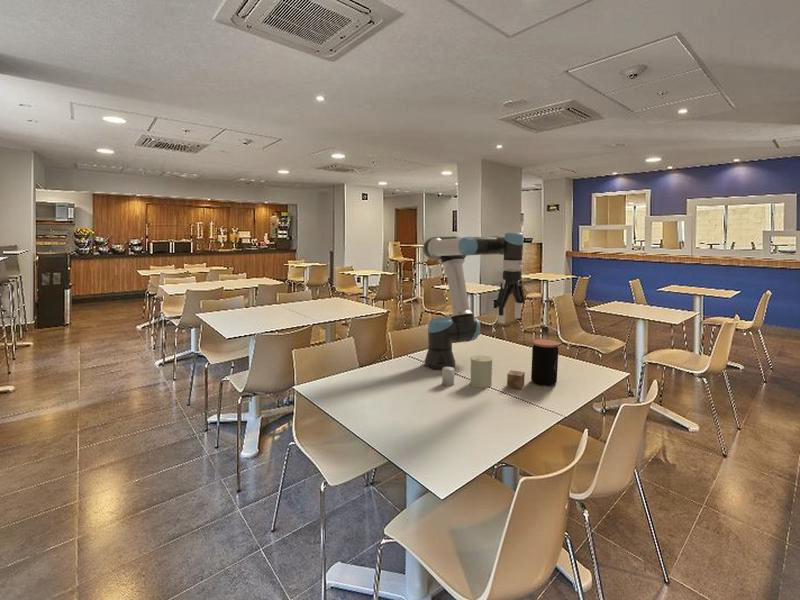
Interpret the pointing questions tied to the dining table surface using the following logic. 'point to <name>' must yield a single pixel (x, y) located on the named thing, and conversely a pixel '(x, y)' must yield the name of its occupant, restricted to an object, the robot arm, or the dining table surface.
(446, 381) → the grey cylinder
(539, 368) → the coffee jar
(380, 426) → the dining table surface
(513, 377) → the walnut block
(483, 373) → the can
